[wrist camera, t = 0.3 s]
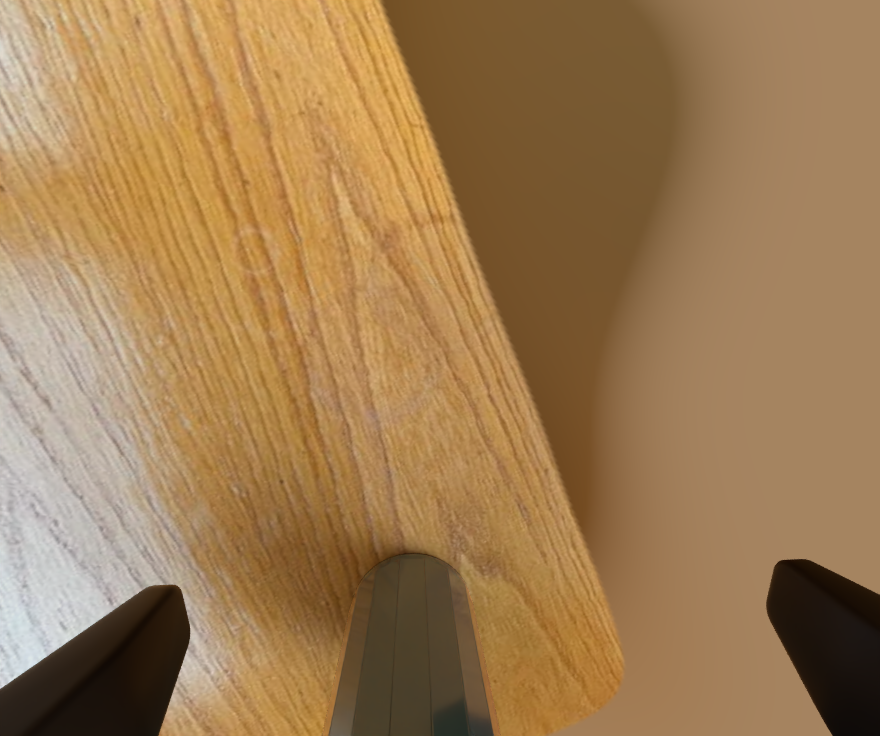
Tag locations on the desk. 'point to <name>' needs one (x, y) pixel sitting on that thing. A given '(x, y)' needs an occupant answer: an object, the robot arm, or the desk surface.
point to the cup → (411, 657)
